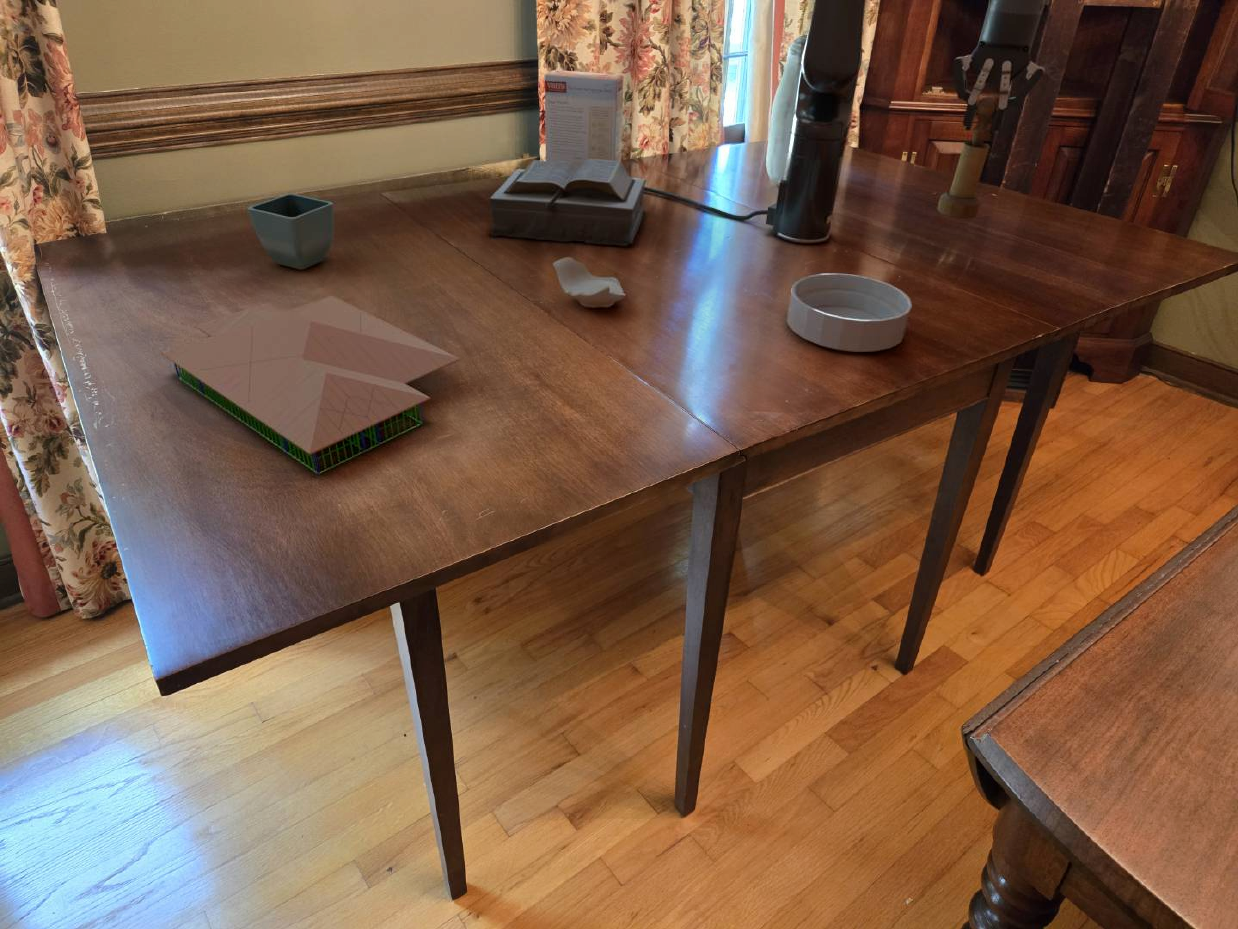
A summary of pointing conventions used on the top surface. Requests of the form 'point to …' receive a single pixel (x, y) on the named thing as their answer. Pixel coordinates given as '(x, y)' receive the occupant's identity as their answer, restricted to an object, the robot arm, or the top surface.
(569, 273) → the pottery shard
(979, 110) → the mortar and pestle
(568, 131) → the cracker box
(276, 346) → the house
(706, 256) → the top surface
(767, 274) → the top surface
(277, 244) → the flower pot
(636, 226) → the bible
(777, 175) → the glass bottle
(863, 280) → the pan
